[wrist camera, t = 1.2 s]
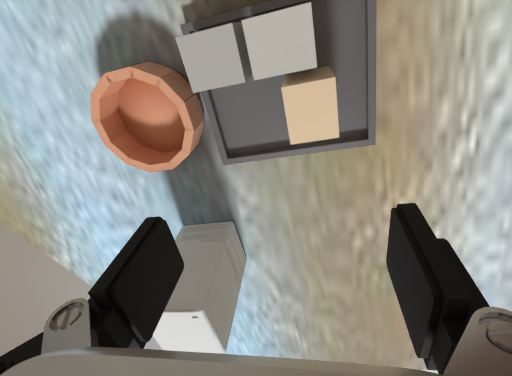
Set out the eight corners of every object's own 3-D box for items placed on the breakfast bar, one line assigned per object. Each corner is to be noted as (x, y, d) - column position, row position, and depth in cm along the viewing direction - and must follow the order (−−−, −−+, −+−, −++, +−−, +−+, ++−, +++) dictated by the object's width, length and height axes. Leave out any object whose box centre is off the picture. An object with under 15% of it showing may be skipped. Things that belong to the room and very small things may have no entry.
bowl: (185, 52, 24) (168, 57, 21) (215, 149, 29) (205, 164, 26) (97, 74, 27) (70, 81, 24) (139, 160, 31) (121, 176, 28)
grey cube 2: (245, 21, 22) (232, 22, 18) (255, 70, 24) (245, 82, 20) (198, 33, 23) (175, 37, 19) (211, 80, 25) (193, 93, 21)
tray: (372, -27, 20) (376, -30, 19) (372, 139, 26) (375, 144, 25) (185, 24, 23) (180, 25, 22) (226, 159, 30) (223, 164, 29)
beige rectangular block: (329, 65, 23) (335, 77, 19) (333, 117, 25) (339, 137, 21) (285, 74, 24) (281, 87, 20) (292, 124, 26) (290, 144, 22)
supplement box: (181, 224, 36) (131, 311, 25) (234, 219, 34) (203, 311, 24) (199, 263, 40) (161, 353, 29) (248, 261, 38) (226, 356, 27)
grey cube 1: (309, 4, 21) (310, 2, 17) (314, 57, 23) (317, 67, 19) (253, 19, 22) (241, 20, 18) (262, 69, 24) (254, 80, 20)
